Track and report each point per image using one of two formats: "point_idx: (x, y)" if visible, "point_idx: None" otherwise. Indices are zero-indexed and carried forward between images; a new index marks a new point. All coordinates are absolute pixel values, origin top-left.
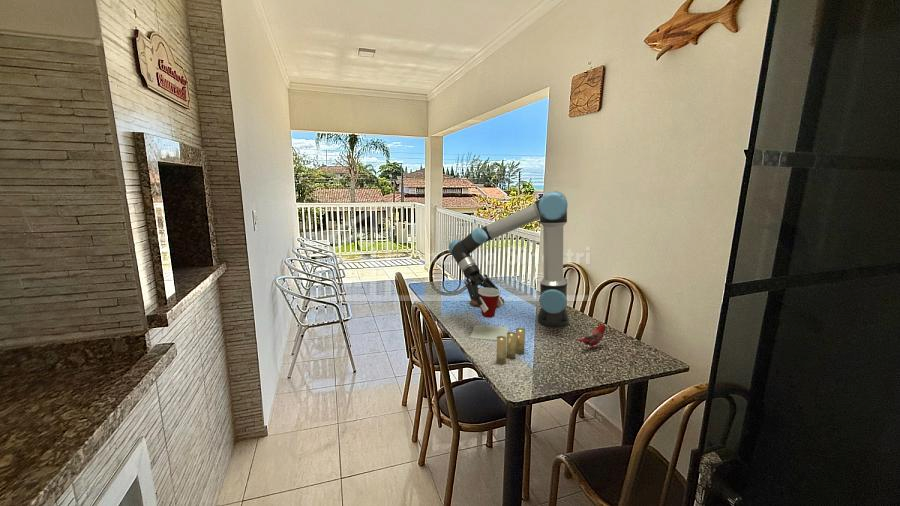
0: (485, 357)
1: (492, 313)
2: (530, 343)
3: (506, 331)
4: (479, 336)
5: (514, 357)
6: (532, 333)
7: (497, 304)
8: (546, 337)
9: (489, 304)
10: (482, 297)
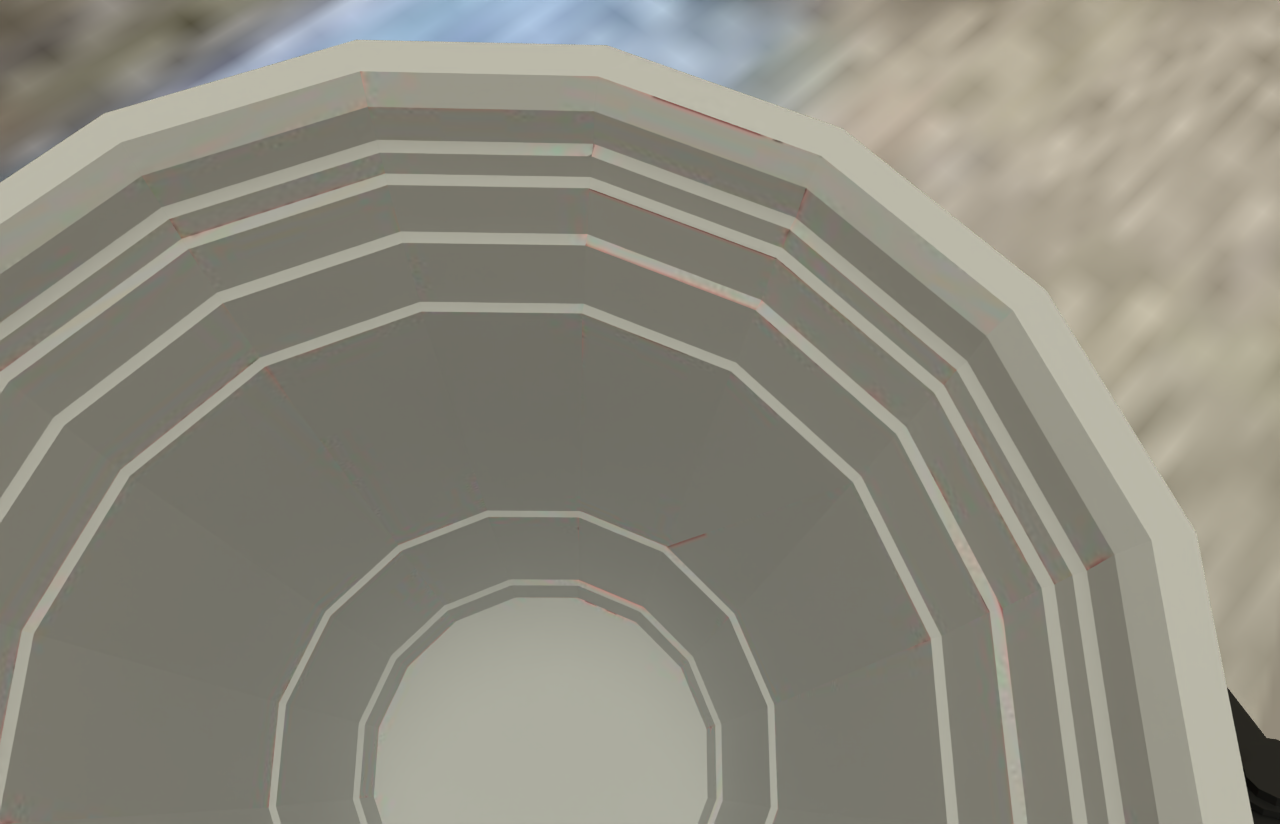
0: (1239, 126)
1: (570, 544)
2: (377, 28)
3: None
4: None
5: None
6: None
7: None
8: (5, 9)
9: (735, 454)
10: (1035, 622)
